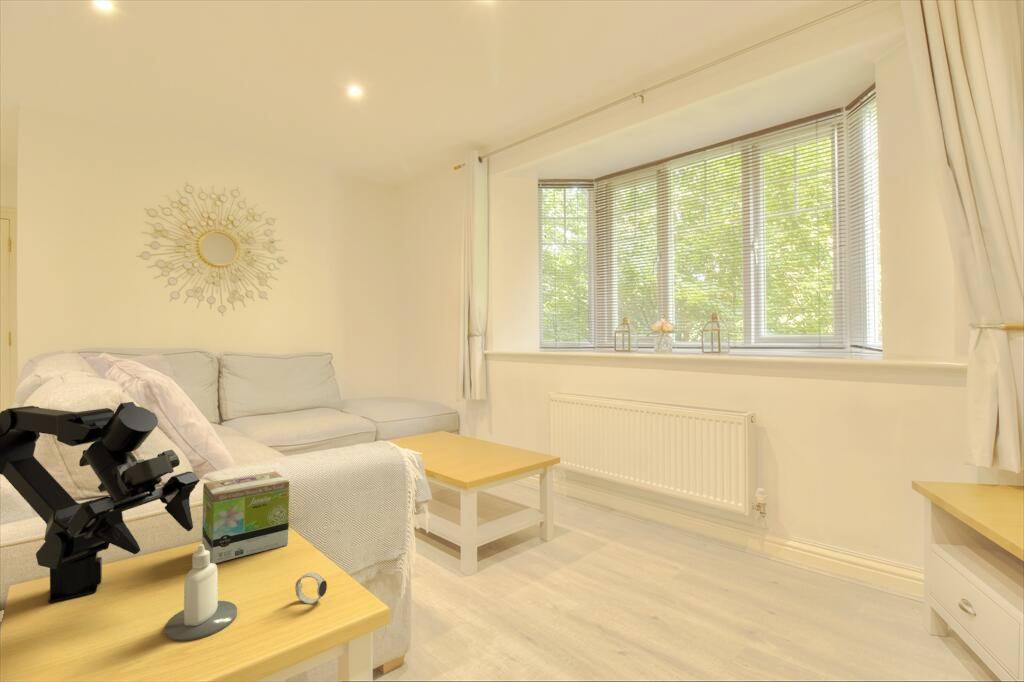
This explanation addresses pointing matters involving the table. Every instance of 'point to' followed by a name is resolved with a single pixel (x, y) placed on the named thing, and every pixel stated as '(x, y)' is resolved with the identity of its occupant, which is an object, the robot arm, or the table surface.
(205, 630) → the charcoal coaster
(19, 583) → the table surface
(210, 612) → the eye dropper bottle
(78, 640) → the table surface
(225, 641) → the table surface
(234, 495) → the tea box
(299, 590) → the wristwatch
